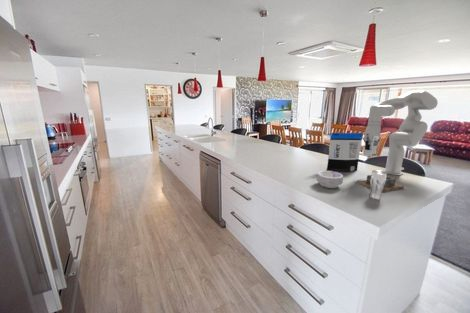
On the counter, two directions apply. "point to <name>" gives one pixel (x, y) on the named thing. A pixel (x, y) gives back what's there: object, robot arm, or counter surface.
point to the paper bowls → (329, 179)
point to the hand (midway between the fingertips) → (370, 149)
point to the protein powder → (344, 152)
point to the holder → (388, 186)
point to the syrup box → (372, 147)
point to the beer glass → (377, 184)
